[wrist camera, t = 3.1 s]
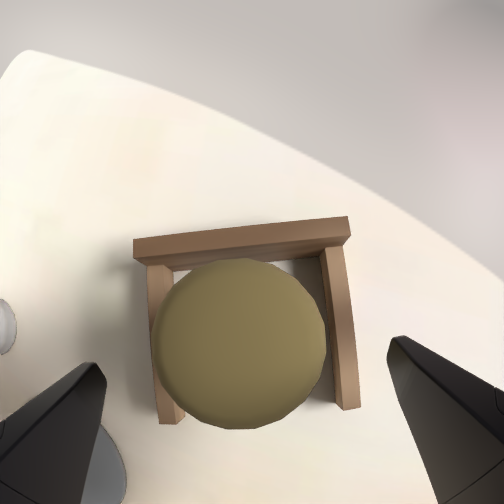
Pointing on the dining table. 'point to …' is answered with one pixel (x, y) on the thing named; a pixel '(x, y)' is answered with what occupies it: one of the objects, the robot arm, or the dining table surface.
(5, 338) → the rook chess piece
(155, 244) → the holder
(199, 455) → the dining table surface
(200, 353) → the cork
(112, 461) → the coaster
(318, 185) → the dining table surface
